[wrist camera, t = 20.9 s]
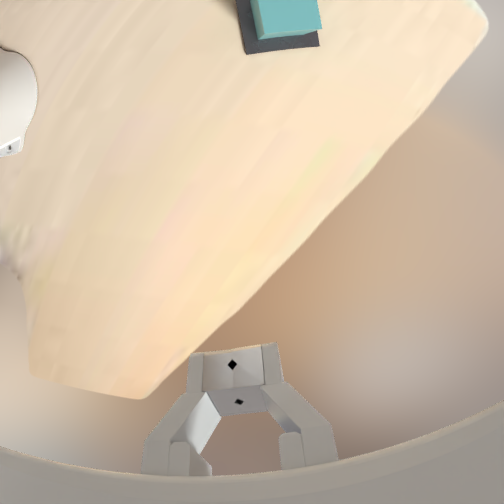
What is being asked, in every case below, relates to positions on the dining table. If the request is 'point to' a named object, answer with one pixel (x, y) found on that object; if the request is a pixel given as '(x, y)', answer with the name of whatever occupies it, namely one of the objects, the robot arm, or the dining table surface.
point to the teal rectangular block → (285, 17)
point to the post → (270, 43)
